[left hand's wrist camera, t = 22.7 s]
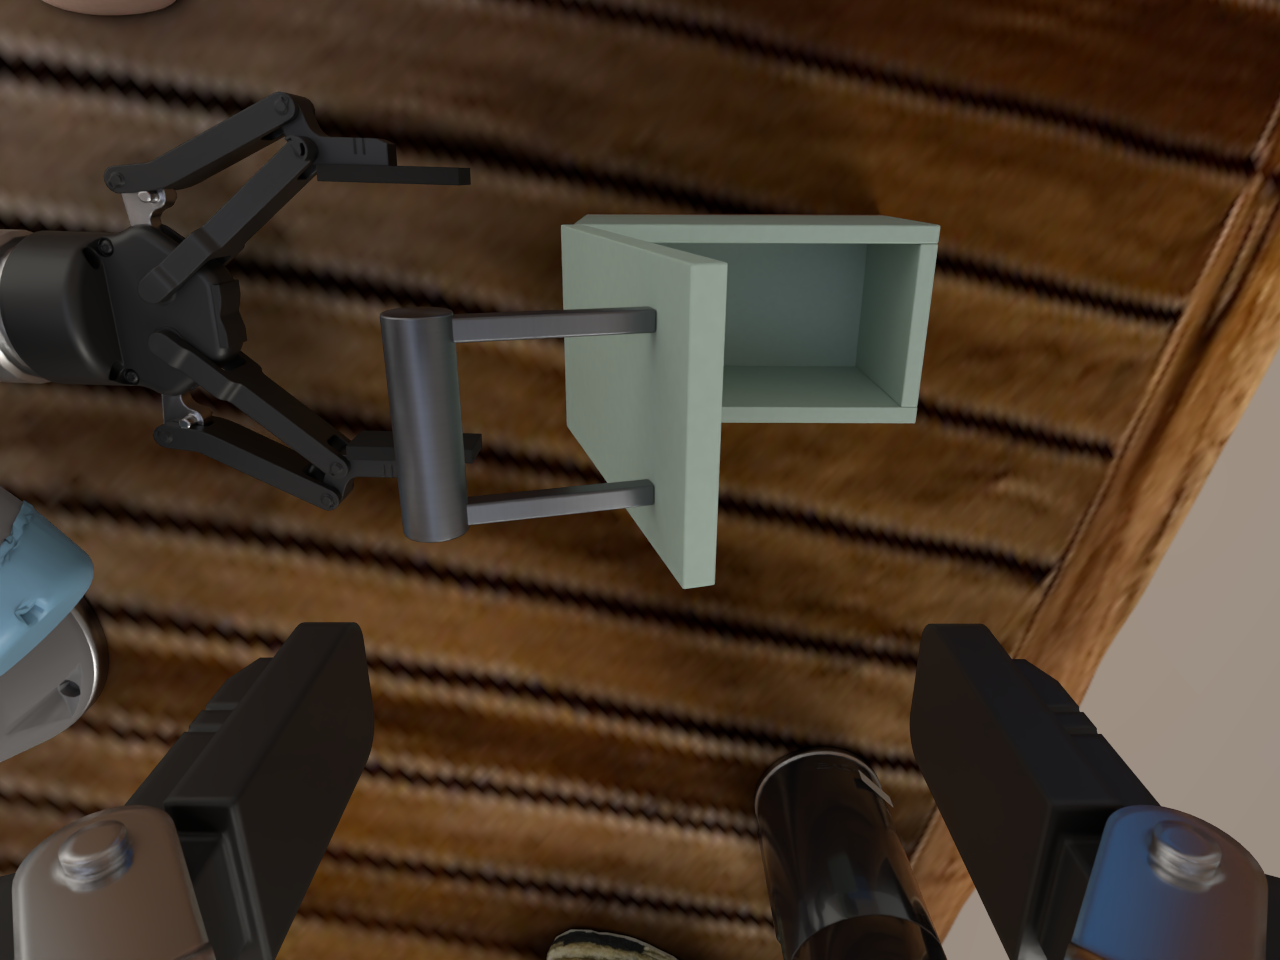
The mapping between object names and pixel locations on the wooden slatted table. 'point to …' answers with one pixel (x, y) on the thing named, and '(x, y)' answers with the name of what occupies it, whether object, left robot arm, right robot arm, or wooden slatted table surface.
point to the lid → (583, 398)
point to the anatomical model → (110, 6)
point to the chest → (811, 309)
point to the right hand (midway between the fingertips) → (472, 320)
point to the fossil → (602, 947)
